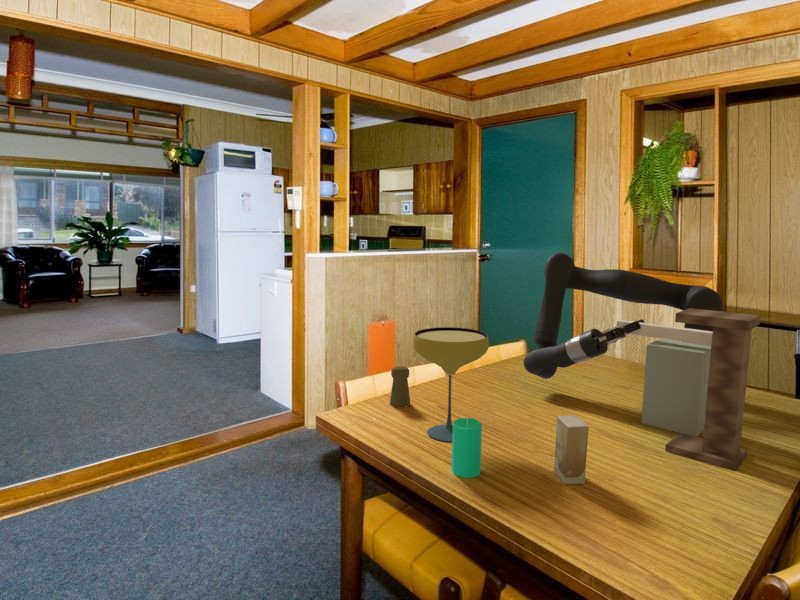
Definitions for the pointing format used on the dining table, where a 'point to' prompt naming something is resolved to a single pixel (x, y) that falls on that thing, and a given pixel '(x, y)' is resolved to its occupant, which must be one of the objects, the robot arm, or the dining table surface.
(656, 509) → the dining table surface
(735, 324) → the walnut stand
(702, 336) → the cream bar
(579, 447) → the skincare box
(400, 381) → the pepper mill
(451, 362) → the cocktail glass
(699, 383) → the pale grey-green block
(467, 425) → the candle
